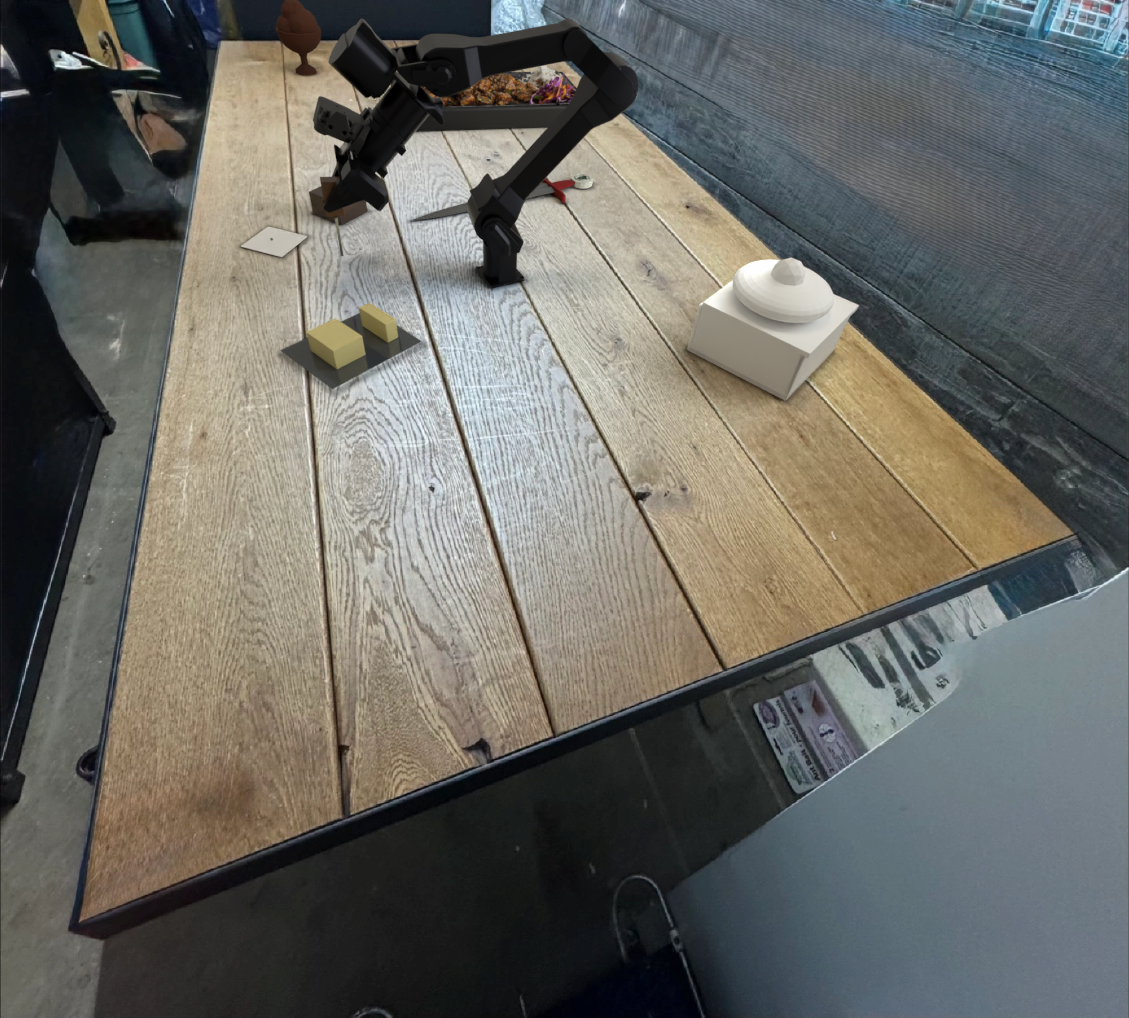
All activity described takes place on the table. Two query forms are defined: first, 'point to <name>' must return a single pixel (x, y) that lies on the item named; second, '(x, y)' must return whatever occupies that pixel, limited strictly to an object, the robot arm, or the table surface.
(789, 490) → the table surface
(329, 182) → the knife
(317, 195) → the knife stand
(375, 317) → the butter slice
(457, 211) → the dagger
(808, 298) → the white lidded jar
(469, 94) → the food platter
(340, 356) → the butter block
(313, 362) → the butter board
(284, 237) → the coaster
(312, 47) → the ice cream bowl
